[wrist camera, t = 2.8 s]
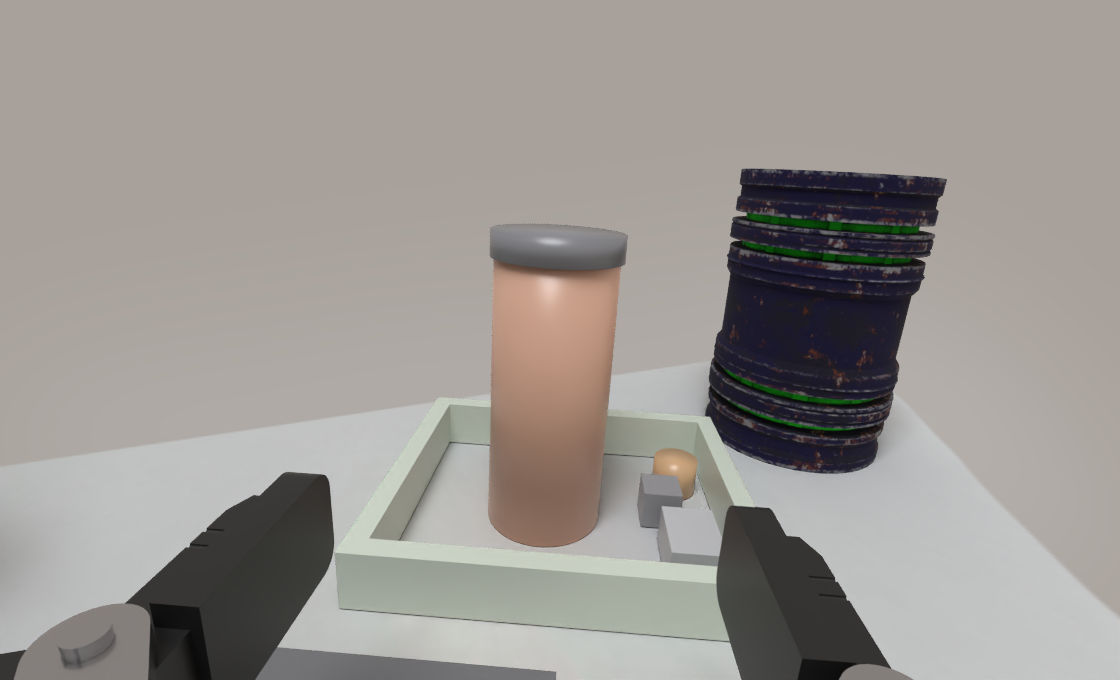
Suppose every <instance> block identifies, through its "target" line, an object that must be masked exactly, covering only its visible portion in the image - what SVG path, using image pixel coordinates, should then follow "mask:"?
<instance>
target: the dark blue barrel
mask: <svg viewBox="0 0 1120 680" xmlns="http://www.w3.org/2000/svg"><path fill="white" fill-rule="evenodd" d="M946 181H947V180H946V179H942V178H932V177H919V176H904V175H888V174H871V173H852V172H831V171H809V170H783V169H782V170H781V169H742V172H741V179H740V184H741V185H742V190H741V196H739V197H738V199H737V205H736V210H737V211H741V212H747V216H738V217H733V219H732V220H733V223H732V227H731V234H730V236H731V237H733V238H735V239H738V240H742V241H734V242H732V243H731V244H730V251H729V254H728V255H727V256H728V264H727V267H728V269H729V271H730V273H731V274H730V281H729V287H728V294H727V300H726V307H725V313H724V320H723V326H722V330H721V331H720V332H719V333H718V334H717V337H716V344H715V350H714V358H713V359H712V362H711V367H710V375H709V382H710V384H711V385H710V387H709V398H710V403H709V404H708V405H707V408H706V413H705V417H710V418H711V420H712V422H713V424H714V426H715V428H716V430H717V432H718V434H719V436H720V438H721V440H722V442H723V443H725V444H726V445H728V446H729V447H731V448H733V449H735V450H737V451H738V452H741V453H743V454H745V455H747V456H749V457H752V458H755V459H757V460H760V461H763V462H766V463H769V464H773V465H776V466H780V467H784V468H789V469H793V470H799V471H806V472H814V473H846V472H852V471H857V470H860V469H863V468H865V467H867V466H869V465H870V464H871V463H872V462H873V461H874V459H875V457H876V453H877V449H878V443H877V437H878V436H879V435H880V434H881V432H882V430H883V426H884V421H885V420H886V419H887V417H888V416H889V413H890V409H891V405H892V401H893V392H892V391H893V389H894V387H895V384H896V382H897V381H898V378H897V375H898V371H899V364H898V362H897V360H896V355H897V351H898V347H899V343H900V339H901V335H902V331H903V327H904V323H905V319H906V315H907V311H908V307H909V304H910V299H911V296H912V295H913V294H914V293H916V292H917V291H918V290H919V288H920V284H921V281H922V280H923V279H924V275H923V273H924V269H925V265H926V264H925V262H923V261H921V260H918V259H915V258H920V257H927V256H930V253H931V252H930V250H931V249H932V246H933V240H932V239H933V238H935V235H934V234H932V233H929V232H924V231H919V227H920V226H935V223H936V220H937V216H938V212H939V211H938V210H936V206H937V202H938V198H939V197H941V196H943V193H944V189H945V185H946Z"/></svg>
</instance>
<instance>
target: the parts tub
mask: <svg viewBox="0 0 1120 680" xmlns="http://www.w3.org/2000/svg"><path fill="white" fill-rule="evenodd" d="M490 411H491V401H483V400H469V399H455V398H441V397H439V398H438V399H437V400H436V402H435V403H434V405H433V406H432V408H431V409H430V411H429V412H428V414H427V415H426V417H425V418H424V420H423V421H422V423H421V424H420V426H419V427H418V429H417V430H416V432H415V433H414V435H413V436H412V438H411V439H410V441H409V442H408V444H407V445H406V447H405V448H404V450H403V451H402V453H401V454H400V456H399V457H398V459H397V460H396V462H395V463H394V465H393V466H392V468H391V469H390V471H389V472H388V474H387V475H386V476H385V478H384V479H383V481H382V482H381V484H380V485H379V487H378V488H377V490H376V491H375V493H374V494H373V496H372V497H371V499H370V500H369V502H368V503H367V505H366V506H365V508H364V509H363V511H362V512H361V514H360V515H359V517H358V518H357V520H356V521H355V523H354V524H353V526H352V527H351V529H350V530H349V532H348V533H347V535H346V536H345V538H344V539H343V541H342V542H341V544H340V545H339V547H338V548H337V550H336V551H335V564H336V577H337V590H338V602H339V608H341V609H353V610H365V611H376V612H388V613H400V614H412V615H424V616H435V617H447V618H459V619H471V620H483V621H494V622H506V623H518V624H530V625H542V626H553V627H565V628H577V629H589V630H601V631H612V632H624V633H636V634H648V635H660V636H671V637H683V638H695V639H707V640H719V641H730V640H729V637H728V634H727V630H726V627H725V624H724V621H723V617H722V614H721V611H720V607H719V603H718V598H717V588H716V576H717V567H718V561H719V555H720V549H721V542H722V536H723V530H724V524H725V518H726V513H727V510H728V508H729V506H746V507H755V505H754V503H753V502H752V500H751V498H750V496H749V494H748V492H747V490H746V488H745V486H744V484H743V482H742V480H741V478H740V476H739V474H738V472H737V470H736V468H735V466H734V464H733V462H732V460H731V458H730V456H729V454H728V452H727V450H726V448H725V446H724V444H723V442H722V440H721V438H720V436H719V434H718V432H717V430H716V428H715V426H714V424H713V422H712V420H711V418H710V417H704V416H690V415H676V414H662V413H649V412H635V411H621V410H608V414H607V425H606V436H605V447H604V453H605V454H618V455H631V456H645V457H654V465H653V473H652V474H642V473H641V478H640V487H639V496H638V504H637V505H638V511H639V518H640V525H641V526H642V527H654V528H659V530H658V538H657V541H658V546H659V552H660V557H661V562H655V561H642V560H630V559H618V558H605V557H593V556H580V555H568V554H556V553H543V552H531V551H518V550H506V549H494V548H481V547H469V546H456V545H444V544H432V543H419V542H407V541H399V539H400V537H401V535H402V533H403V531H404V530H405V528H406V526H407V524H408V522H409V520H410V518H411V516H412V514H413V512H414V510H415V508H416V506H417V504H418V502H419V500H420V499H421V497H422V495H423V493H424V491H425V489H426V487H427V485H428V483H429V481H430V479H431V477H432V475H433V473H434V471H435V469H436V468H437V466H438V464H439V462H440V460H441V458H442V456H443V454H444V452H445V450H446V448H447V446H448V444H449V442H458V443H471V444H485V445H490ZM696 472H697V474H698V477H699V480H700V483H701V485H702V488H703V491H704V493H705V496H706V499H707V502H708V504H709V507H710V510H706V509H693V508H682V502H683V500H684V499H688V498H690V497H691V496H692V495H693V491H694V484H695V477H696Z"/></svg>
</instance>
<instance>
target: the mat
mask: <svg viewBox="0 0 1120 680" xmlns="http://www.w3.org/2000/svg"><path fill="white" fill-rule="evenodd" d="M255 680H556V672H553V671H541V670H530V669H518V668H507V667H495V666H484V665H472V664H461V663H450V662H438V661H427V660H415V659H404V658H392V657H381V656H369V655H358V654H346V653H335V652H323V651H312V650H301V649H289V648H278V647H277V648H276V649H275V651H274V652H273V654H272V655H271V657H270V658H269V660H268V661H267V663H266V664H265V666H264V667H263V669H262V670H261V672H260V673H259V675H258V676H257V678H256V679H255Z"/></svg>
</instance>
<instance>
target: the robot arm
mask: <svg viewBox="0 0 1120 680" xmlns="http://www.w3.org/2000/svg"><path fill="white" fill-rule="evenodd" d="M333 549H334V533H333V521H332V508H331V496H330V485H329V481H328V478H327V477H326V476H325V475H321V474H308V473H294V472H285V473H283V474H282V475H281V476H280V477H279V478H278V479H277V480H276V481H275V482H273V483H272V484H271V485H270V486H269V487H268V488H267V489H266V490H265V491H264V492H263V493H262V494H261V495H260V496H256V495H253V496H252V497H250V498H248V499H246V500H244V501H242V502H240V503H239V504H237V505H235V506H233V507H231V508H229V509H228V510H226V511H225V512H224V513H223V514H222V515H221V516H220V517H218V518H217V519H216V520H215V521H214V522H213V523H212V524H211V525H210V526H209V527H208V528H207V530H206V532H202V533H201V534H200V535H199V536H198V537H197V538H196V539H195V540H193V541H192V542H191V543H190V547H189V548H185V549H184V550H183V551H181V552H180V553H179V554H178V555H177V556H176V557H175V558H174V559H173V560H172V561H171V562H170V563H168V564H167V565H166V566H165V567H164V568H163V569H162V570H161V571H160V572H159V573H158V574H156V575H155V576H154V577H153V578H152V579H151V580H150V581H149V582H148V583H147V584H146V585H145V586H143V587H142V588H141V589H140V590H139V591H138V592H137V593H136V594H135V595H134V596H133V597H131V598H130V599H129V600H128V601H127V602H126V603H125V604H112V605H106V606H101V607H98V608H94V609H91V610H88V611H85V612H82V613H80V614H78V615H75V616H73V617H71V618H69V619H67V620H65V621H63V622H61V623H59V624H58V625H56V626H54V627H53V628H51V629H50V630H48V631H47V632H46V633H44V634H43V635H41V636H40V637H39V638H38V639H37V640H36V641H35V642H33V643H32V645H31V646H30V647H29V648H28V649H27V650H23V651H17V652H11V653H5V654H0V680H255V679H256V678H257V676H258V675H259V673H260V672H261V670H262V669H263V667H264V666H265V664H266V663H267V661H268V660H269V658H270V657H271V655H272V654H273V652H274V651H275V649H276V648H277V646H278V645H279V643H280V642H281V640H282V639H283V637H284V636H285V634H286V633H287V631H288V630H289V628H290V627H291V625H292V624H293V622H294V620H295V619H296V617H297V616H298V614H299V613H300V611H301V610H302V608H303V607H304V605H305V604H306V602H307V601H308V599H309V598H310V596H311V595H312V593H313V592H314V590H315V589H316V587H317V586H318V584H319V583H320V581H321V580H322V578H323V577H324V575H325V574H326V572H327V570H328V567H329V565H330V562H331V559H332V555H333ZM716 588H717V598H718V603H719V607H720V611H721V614H722V617H723V621H724V624H725V627H726V630H727V634H728V637H729V640H730V643H731V647H732V650H733V653H734V656H735V660H736V663H737V666H738V669H739V673H740V676H741V679H742V680H913V679H911V678H910V677H908V676H906V675H904V674H902V673H900V672H898V671H895V670H893V669H891V667H890V666H889V664H888V663H887V661H886V659H885V658H884V656H883V654H882V653H881V651H880V650H879V648H878V646H877V645H876V643H875V642H874V640H873V638H872V637H871V635H870V633H869V632H868V630H867V629H866V627H865V625H864V624H863V622H862V621H861V619H860V617H859V616H858V614H857V612H856V611H855V609H854V608H853V606H852V604H851V603H850V601H847V599H846V595H845V593H844V591H843V590H842V588H841V587H840V585H839V583H838V582H835V577H834V575H833V574H832V572H831V570H830V569H829V567H828V566H827V564H826V562H825V561H824V559H823V557H822V556H821V555H820V554H819V553H817V552H816V551H815V550H814V549H813V548H812V547H810V546H809V545H808V544H807V543H806V542H805V541H803V540H802V539H801V538H800V537H791V536H786V534H785V533H784V531H783V529H782V527H781V525H780V524H779V522H778V520H777V518H776V516H775V515H774V513H773V511H772V510H771V509H769V508H760V507H746V506H729V508H728V510H727V513H726V518H725V524H724V530H723V536H722V542H721V549H720V555H719V561H718V567H717V576H716Z"/></svg>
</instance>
